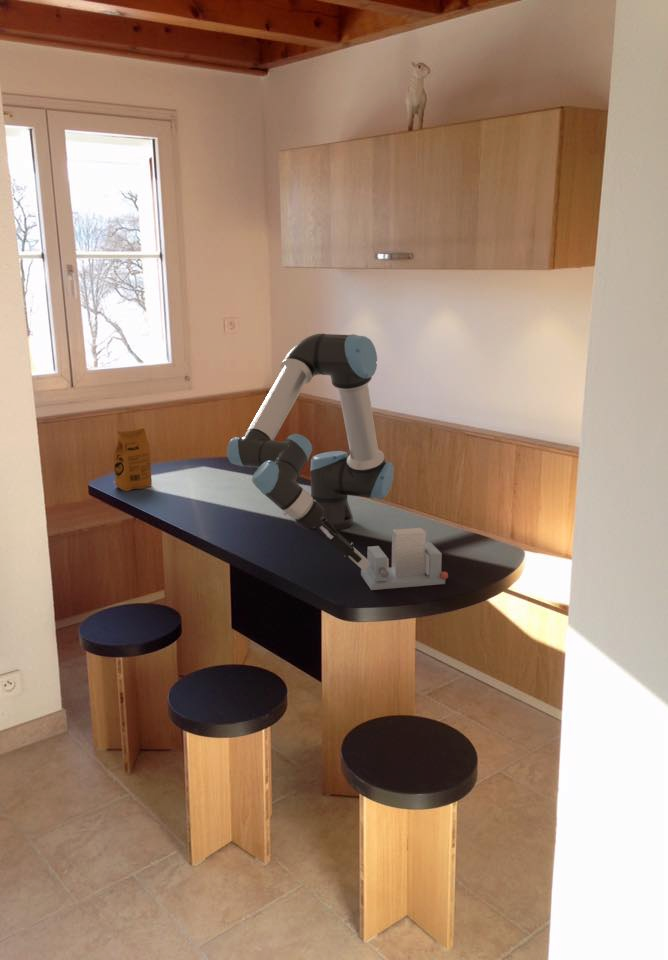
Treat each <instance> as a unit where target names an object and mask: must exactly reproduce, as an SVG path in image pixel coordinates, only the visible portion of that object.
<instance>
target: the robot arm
mask: <svg viewBox="0 0 668 960" xmlns="http://www.w3.org/2000/svg"><path fill="white" fill-rule="evenodd" d="M377 362H378V354H377V351H376V347H375V344H374V343H373V341H372V340H371V339H370V338H368V337H367V336H365V335H357V334H355V333H353V334H338V333H337V334H335V333H334V334H333V333H332V334H331V333H314V334H313V335H309V336H307V337H305V338H304V339H303V340H301V341H300V342H298V343H297V344H296V345H295V346H293V347H292V348H291V349H290V351H288V352H287V354H286V355H285V357H284V358H283V360H282V361H281V364H280V372H279V375H278V376H277V378H276V380H275V382H274V383H273V385H272V386H271V388H270V390H269V391H268V393H267V395H266V396H265V399H264V400H263V401H262V404H261V405H260V406H259V407H260V408H259V409H258V411H257V412H256V414H255V416H254V418H253V420H252V421H251V423H250V425H249V427H248V428H247V429H246V431H245V432H244V435H243V436H235V437H233V438H231V439H230V440H229V442H228V443H227V444H228V445H227V448H226V456H227V459H228V461H229V462H230V463H231V464H232V465H235V466H240V467H242V468H243V467H244V468H246V467H248V468H257V469H256V470H255V471H254V473H253V475H252V477H251V481H252V484H253V485H254V486H255V487H256V488H257V489H258V490H259V491H260V493H262V494H263V495H265V496H266V497H267V498H268V499H269V500H270V501H272V503H274V504H275V505H276V506H277V507H278V508H280V509H281V510H282V511H283V513H282V515H283V516H287V515H288V516H289V518H290V519H292V520H294V522H295V523H296V524H297V525H299V527H300V528H302V530H304V531H307V530H311V529H313V530H315V532H316V533H317V534H318V535H319V536H321V537H323V539H324V540H326V541H327V542H329V543H331V545H333V546H334V547H335V548H336V549H337V550H339V551H340V552H341V553H342V554H343V555H344V556H343V557H344V558H345V559H347V558H348V559H350V560H351V561H352V562H353V563H354V564H355V565H357V566H358V567H359V568H360V570H363V571H365V570H366V569H367V568H368V567H369V566H370V565H371V563H370V562H369V561H368V560H367V557H365V556H364V555H363V554H362V553H361V552H360V551H359V550H357V549H356V548H355V547H354V545H355V544H354V542H350V541H349V540H347V539H346V538H345V537H344V536H343V535H341V534H340V532H338V531H340V530H345V529H348V528H351V527H352V525H353V524H354V517H353V516H354V515H353V514H352V513H353V512H352V510H351V507H350V504H349V500H348V496H352V497H359V498H360V497H361V498H366V499H371V500H374V499H376V500H377V499H378V500H381V499H384V498H385V497H387V495H388V494H389V492H390V490H391V488H392V486H393V482H394V475H395V474H394V473H395V467H394V464H393V462H390V461H386V459H385V454H384V452H383V450H381V449H379V445H378V441H377V440H378V439H377V434H376V426H375V422H374V421H375V420H374V414H373V410H372V409H373V408H372V401H371V396H370V390H369V389H370V388H369V383H370V382H371V381H372V377H373V376H374V375H375V374H376V371H377V367H378V364H377ZM319 375H321V376H330V379H331V384H332V386H333V387H334V388H336V389H337V390H338V393H339V395H338V396H339V400H340V404H341V411H342V415H343V420H344V421H343V422H344V426H345V428H344V429H345V432H346V437H347V444H348V448H349V455H348V452H347V451H344V450H336V451H335V450H334V451H326V452H321V453H318V454H316V455H313V456H312V458H311V459H310V469H309V470H310V493H309V492H307V491H306V490H305V489H304V487H302V486H301V485H300V484H299V483H298V482H297V479H298V478H299V476H300V475H301V472H302V471H303V470H304V468H305V466H306V464H308V462H309V458H310V457H311V455H312V452H313V446H312V443H311V441H310V440H309V439H308V438H307V437H305V436H304V435H302V434H299V433H293V434H290V435H288V437H287V438H286V439H285V440H284V441H279V440H275V438H276V437H277V435H278V433H279V431H280V429H281V428H282V426H283V424H284V422H285V420H286V418H287V417H288V415H289V413H290V411H291V410H292V408H293V406H294V405H295V403H296V400H297V399H298V397H299V396H300V393H301V392H302V389H303V388H304V387H305V385H308V384H309V383H310V382H311V381H312V379H313V378H314V377H315V376H319Z"/></svg>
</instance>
